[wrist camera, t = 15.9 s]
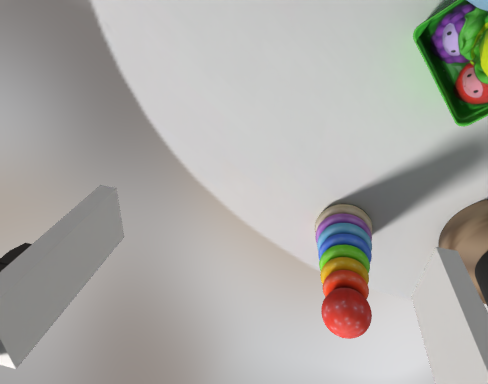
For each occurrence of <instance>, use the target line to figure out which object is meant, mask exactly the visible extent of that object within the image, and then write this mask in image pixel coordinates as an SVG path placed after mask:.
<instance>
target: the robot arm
mask: <svg viewBox="0 0 488 384" xmlns="http://www.w3.org/2000/svg"><path fill="white" fill-rule="evenodd" d="M467 1H468V2H470V3H471V4H473V5H474V6H476V7H477V8H480V9H482V10H485V11H488V0H467ZM123 238H124V233H123V226H122V220H121V214H120V207H119V200H118V194H117V188H114V187H108V186H103V185H100V186H99V187H98V188H96V189H95V190H94V191H93V192H92V193H91V194H90V195H88V196H87V197H86V198H85V199H84V200H83V201H82V202H80V203H79V204H78V205H77V206H76V207H75V208H74V209H72V210H71V211H70V212H69V213H68V214H67V215H65V216H64V217H63V218H62V219H61V220H60V221H58V222H57V223H56V224H55V225H54V226H53V227H52V228H50V229H49V230H48V231H47V232H46V233H45V234H44V235H42V236H41V237H40V238H39V239H38V240H37V241H35V242H34V243H33V244H28V243H24V244H22V245H20V246H19V247H16V248H14V249H12V250H10V251H9V252H8V253H6V254H5V255H4V256H3V257H2V258H0V365H3V366H7V367H11V368H14V369H17V367H18V366H19V365H20V364H21V363H22V361H23V360H24V359H25V357H26V356H27V355H28V354H29V353H30V351H31V350H32V349H33V348H34V347H35V345H36V344H37V343H38V342H39V340H40V339H41V338H42V337H43V336H44V334H45V333H46V332H47V331H48V330H49V328H50V327H51V326H52V325H53V323H54V322H55V321H56V320H57V319H58V317H59V316H60V315H61V314H62V312H63V311H64V310H65V309H66V308H67V306H68V305H69V304H70V302H71V301H72V300H73V299H74V298H75V297H76V295H77V294H78V293H79V292H80V290H81V289H82V288H83V287H84V285H85V284H86V283H87V282H88V281H89V279H90V278H91V277H92V276H93V275H94V273H95V272H96V271H97V270H98V268H99V267H100V266H101V265H102V263H103V262H104V261H105V260H106V259H107V257H108V256H109V255H110V254H111V253H112V251H113V250H114V249H115V248H116V246H117V245H118V244H119V243H120V242H121V240H122V239H123ZM411 297H412V300H413V304H414V308H415V312H416V315H417V319H418V323H419V327H420V330H421V334H422V338H423V341H424V345H425V349H426V353H427V356H428V360H429V364H430V368H431V371H432V375H433V378H434V382H435V384H488V312H487V310H486V308H485V306H484V304H483V302H482V300H481V298H480V296H479V294H478V292H477V290H476V288H475V286H474V284H473V282H472V279H471V277H470V275H469V273H468V271H467V269H466V267H465V265H464V263H463V261H462V259H461V257H460V255H459V253H458V251H455V250H450V249H444V248H439V247H436V248H435V250H434V252H433V254H432V256H431V258H430V260H429V262H428V264H427V266H426V268H425V270H424V272H423V274H422V276H421V278H420V280H419V282H418V284H417V286H416V288H415V290H414V292H413V294H412V296H411Z"/></svg>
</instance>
